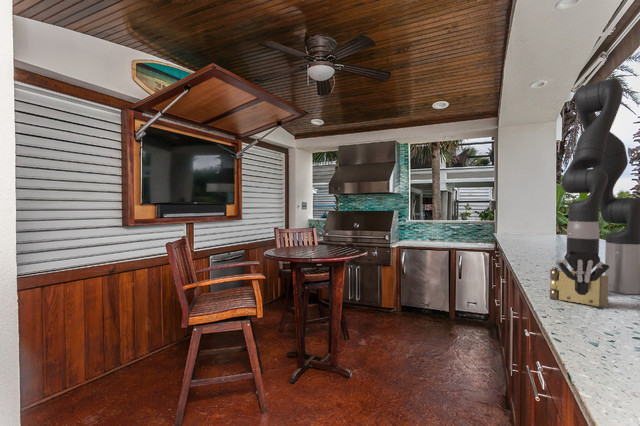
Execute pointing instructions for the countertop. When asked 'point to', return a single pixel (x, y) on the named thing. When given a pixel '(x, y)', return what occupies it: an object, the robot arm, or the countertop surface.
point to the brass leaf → (569, 293)
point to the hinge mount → (602, 303)
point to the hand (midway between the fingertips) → (581, 294)
